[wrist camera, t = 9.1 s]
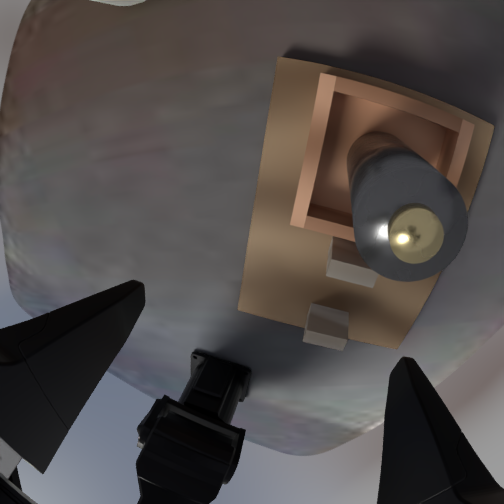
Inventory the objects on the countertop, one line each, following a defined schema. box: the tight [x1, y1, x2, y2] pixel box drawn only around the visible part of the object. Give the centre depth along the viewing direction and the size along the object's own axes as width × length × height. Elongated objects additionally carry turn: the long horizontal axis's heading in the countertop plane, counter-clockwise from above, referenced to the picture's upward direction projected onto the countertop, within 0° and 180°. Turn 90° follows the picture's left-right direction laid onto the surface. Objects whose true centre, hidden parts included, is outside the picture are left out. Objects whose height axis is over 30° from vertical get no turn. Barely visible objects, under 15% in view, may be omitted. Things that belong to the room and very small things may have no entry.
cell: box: [346, 131, 468, 282], centre depth 12 cm, size 4×4×10 cm
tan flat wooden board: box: [238, 57, 494, 351], centre depth 18 cm, size 19×14×4 cm
